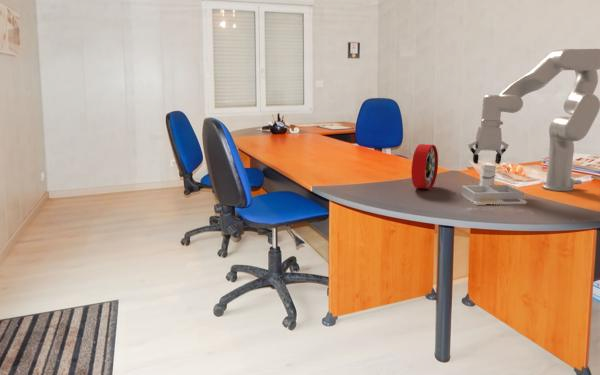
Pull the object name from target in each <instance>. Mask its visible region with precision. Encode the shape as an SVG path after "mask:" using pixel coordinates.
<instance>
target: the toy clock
mask: <svg viewBox="0 0 600 375" xmlns="http://www.w3.org/2000/svg"><path fill="white" fill-rule="evenodd" d="M438 167H439V154H438V149H437V147H436V145H434V144H428V143H427V144H425V143H419V144H418V145H417V146H416V147H415V150H414V153H413V156H412V161H411V170H410V172H411V182H412V185H413V187H414V188H415V189H419V190H420V189H422V190H431V189H433V187H434V185H435V183H436V179H437V176H438V169H439V168H438Z"/></svg>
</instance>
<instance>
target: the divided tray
mask: <svg viewBox="0 0 600 375" xmlns="http://www.w3.org/2000/svg"><path fill="white" fill-rule="evenodd" d="M524 194H525V192H524V191H522V190H520V189H518V188H516V187H513V186H512V185H510V184H494V185H480V184H478V185H477V184H475V185H461V196H462V197H463V198H465V199H467V200H468V201H469V200H470V201H469V202H471V203H472V202H473V203H472V204H474V205H475V204H476V206H487V205H486V204H491V206H493V205H492V204H494V206H495V204H496V205H497V204H498V205H499V204H500V205H527V200H525V199H524ZM498 205H497V206H498Z"/></svg>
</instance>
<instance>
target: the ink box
mask: <svg viewBox="0 0 600 375" xmlns="http://www.w3.org/2000/svg"><path fill="white" fill-rule="evenodd" d="M480 166H481V167H480V177H479V185H495V178H496V177H495V175H496V165H495V164H494V163H493V162H485V161H484V162H483V161H482V162H481V165H480Z"/></svg>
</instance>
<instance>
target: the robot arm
mask: <svg viewBox="0 0 600 375" xmlns="http://www.w3.org/2000/svg"><path fill="white" fill-rule="evenodd" d="M598 70H600V48H565V49H556V50H554V51H552V52H550V53H549V54H548V55H547V56H546V57H545V58H544V59H542V60H541V61H540V63H538V64H537V65H536V66H535V67H534V68H533V69H531V70H530V72H529V71H528V73H527V74H525V75H523V76H522V77H520V78H519V79H518V80H516V81H514V82H513V83H511V84H510V85H508V87H506V88H505V89H504V90H503V91H501V93H500V94H486V95H484V97H483V100H482V112H481V120H480V121H481V123H480V126H479V127H478V128H477V132H476V136H475V140H473V141H472V142H470V143H468V144H467V145H468V148H469V151H470V152H471V153H472V154H473V156H472V162H473V164H475V165H477V164H479V153H480V152H481V151H484V152H485V151H494V152H496V154H495V164H498V165H500V163H501V161H502V156H503V154H505V152H506V151H507V149H508V148H509V144H508V143H506V142H504V141H503V140H502V139H503V138H502V128H501V125H504V121H501V117H502V113H509V114H515V113H517V112H519V111H521V110H522V108H523V107H524V100H523V99H522V98H523V97H524V96H526V95H527V94H530V93H532V92H535V91H539V90H540V89H542V88H545V87H546V85H547V84H549V83H550V82H551V81H552V80H553V79H555V78H556V77H557V76H558V75H559V74H560V73H561V72H562V71H574V72H575V80H574V83H573V85H572V86H571V89H570V91H569V93H568V95H567V97H566V98H565V100H564V102H563V103H564V104H563V110H564V112H565V113H567V114H569V115H571V116H559V117H555V118H554V119H553V120H552V121H551V122H550V124H549V128H548V135H549V148H548V151H549V152H548V159H547V169H546V181H545V183H542V184H541V188H543V189H545V190H548V191H555V192H572V191H574V189H575V185H582V180H581V179H574V178H572V171H573V162H574V161H573V160H574V154H575V144H574V142H579V141H581V140H583V139H584V138H585V137H586V136H587V135H588V133H589V132H590V130H591V127H592V126H593V124H594V122H595V120H596V118H597V116H598V114H599V113H600V99H599V97H598V96H597V95H595V94H594V93H595V90H596V89H597V86H598V82H599V75H598V74H599V73H598V72H597V71H598ZM502 146H503V147H502ZM474 148H475V149H474Z"/></svg>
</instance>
